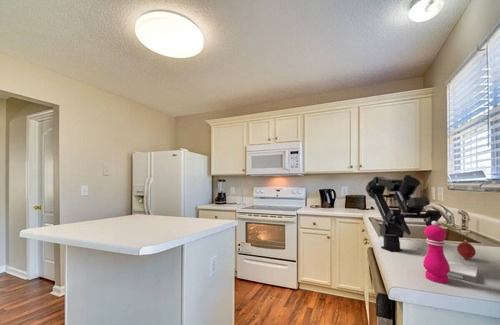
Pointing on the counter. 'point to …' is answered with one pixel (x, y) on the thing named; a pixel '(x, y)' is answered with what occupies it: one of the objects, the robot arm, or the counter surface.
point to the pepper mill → (436, 254)
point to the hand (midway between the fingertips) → (422, 234)
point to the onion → (466, 250)
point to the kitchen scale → (463, 272)
